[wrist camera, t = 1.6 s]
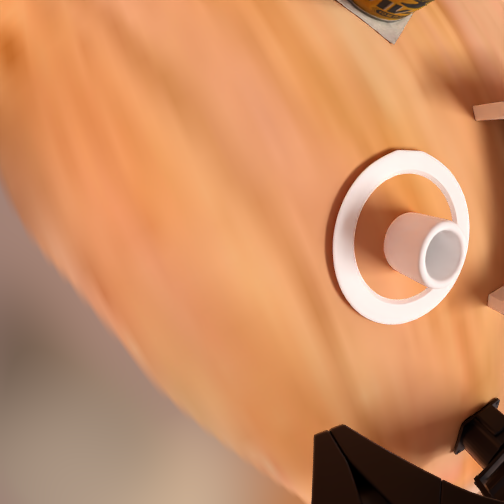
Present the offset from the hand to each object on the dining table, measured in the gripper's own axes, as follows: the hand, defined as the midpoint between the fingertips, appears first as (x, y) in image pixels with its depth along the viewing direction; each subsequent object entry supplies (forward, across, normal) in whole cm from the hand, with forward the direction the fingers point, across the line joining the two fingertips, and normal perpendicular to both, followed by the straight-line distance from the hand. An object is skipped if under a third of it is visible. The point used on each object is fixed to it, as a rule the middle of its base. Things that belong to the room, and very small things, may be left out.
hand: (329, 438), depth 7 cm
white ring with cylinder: (+13, -11, 0) cm, 17 cm away
